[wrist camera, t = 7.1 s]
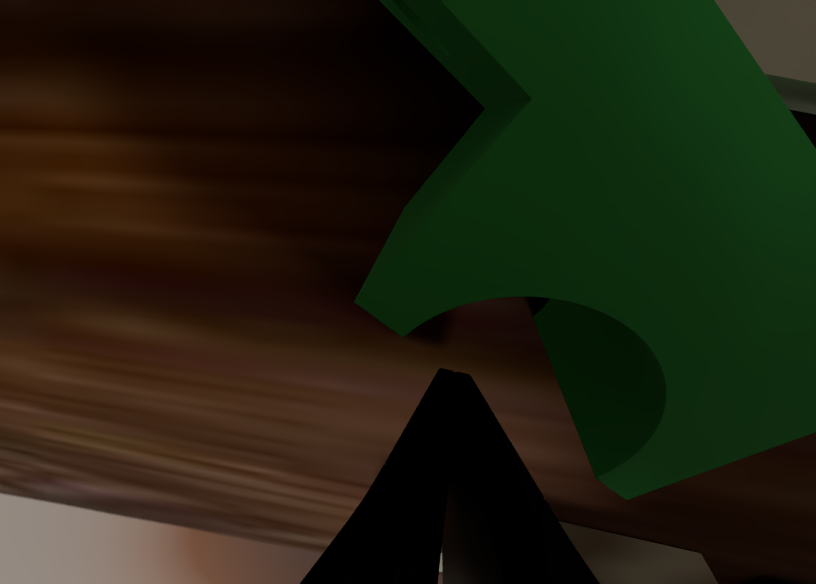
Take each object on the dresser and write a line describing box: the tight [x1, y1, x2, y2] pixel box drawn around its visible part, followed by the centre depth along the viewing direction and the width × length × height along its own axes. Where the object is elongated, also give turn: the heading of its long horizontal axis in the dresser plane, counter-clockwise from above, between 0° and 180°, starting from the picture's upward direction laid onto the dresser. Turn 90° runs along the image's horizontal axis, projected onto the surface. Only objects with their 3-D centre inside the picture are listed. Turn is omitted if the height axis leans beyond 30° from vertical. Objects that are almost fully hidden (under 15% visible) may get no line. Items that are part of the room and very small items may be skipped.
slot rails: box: [439, 0, 816, 584], centre depth 8 cm, size 12×18×2 cm
